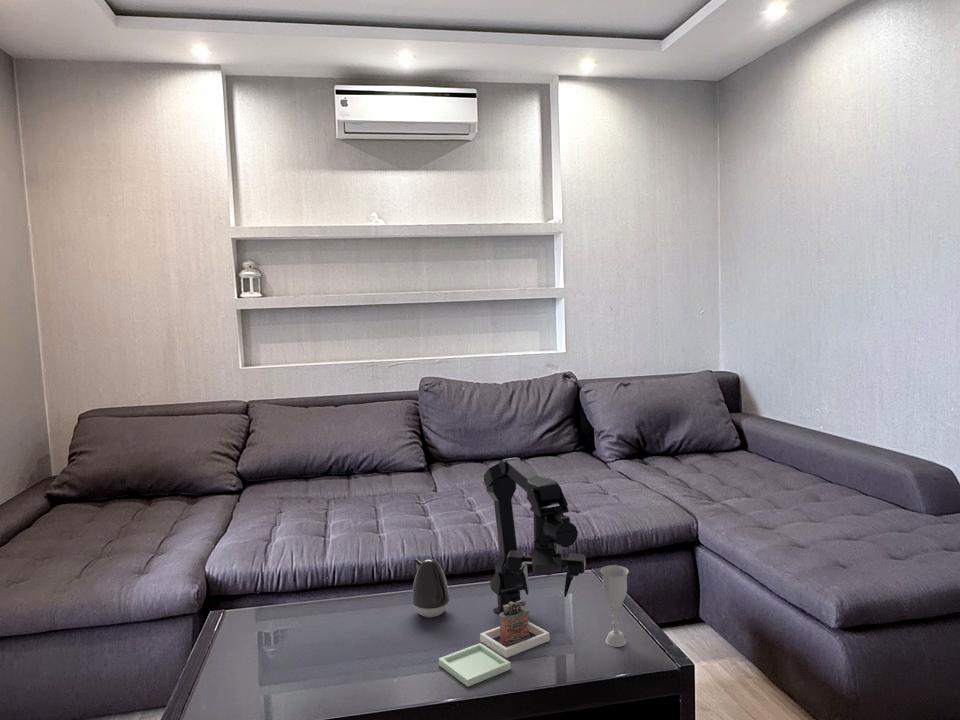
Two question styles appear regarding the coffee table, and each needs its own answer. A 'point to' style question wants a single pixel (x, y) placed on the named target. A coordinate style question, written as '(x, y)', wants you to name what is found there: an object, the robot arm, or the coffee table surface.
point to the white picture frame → (488, 640)
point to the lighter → (514, 623)
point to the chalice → (615, 598)
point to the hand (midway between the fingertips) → (546, 595)
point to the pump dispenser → (430, 589)
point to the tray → (474, 664)
